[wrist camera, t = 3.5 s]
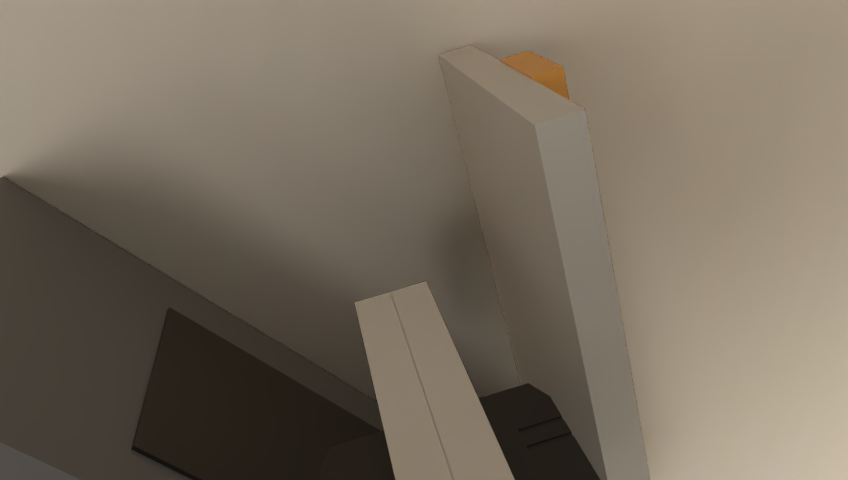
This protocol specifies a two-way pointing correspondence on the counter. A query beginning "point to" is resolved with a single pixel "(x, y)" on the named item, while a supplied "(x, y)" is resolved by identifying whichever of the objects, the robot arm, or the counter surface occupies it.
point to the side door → (549, 246)
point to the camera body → (145, 370)
